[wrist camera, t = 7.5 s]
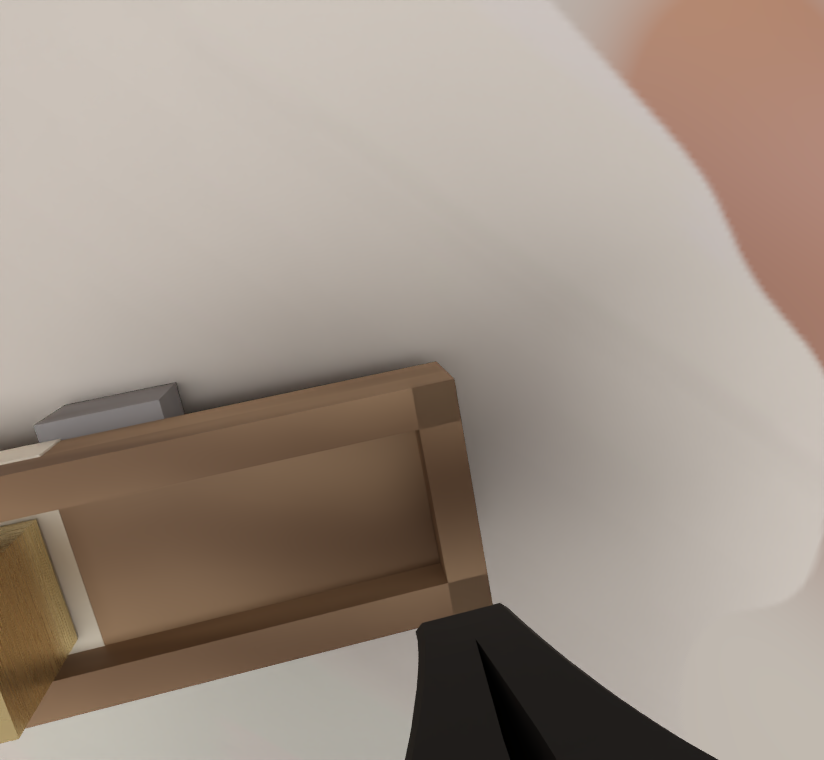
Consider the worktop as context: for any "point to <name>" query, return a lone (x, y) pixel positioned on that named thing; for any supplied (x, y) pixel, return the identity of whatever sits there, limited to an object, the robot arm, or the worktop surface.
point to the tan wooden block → (28, 626)
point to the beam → (246, 528)
